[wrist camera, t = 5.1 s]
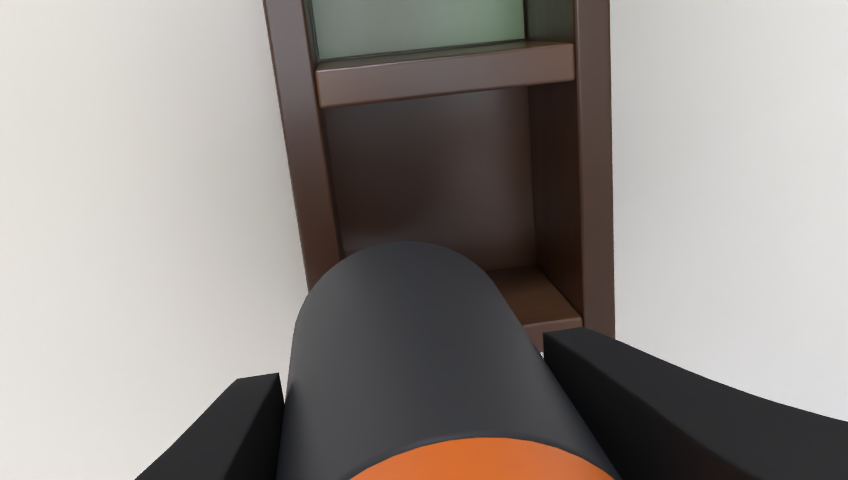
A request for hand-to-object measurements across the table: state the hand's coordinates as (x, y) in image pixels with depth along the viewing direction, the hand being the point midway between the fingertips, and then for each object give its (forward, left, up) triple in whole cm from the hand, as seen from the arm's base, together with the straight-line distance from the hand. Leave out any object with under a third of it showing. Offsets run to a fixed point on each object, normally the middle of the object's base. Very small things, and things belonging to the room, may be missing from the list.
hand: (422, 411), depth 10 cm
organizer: (-2, -4, -10) cm, 11 cm away
